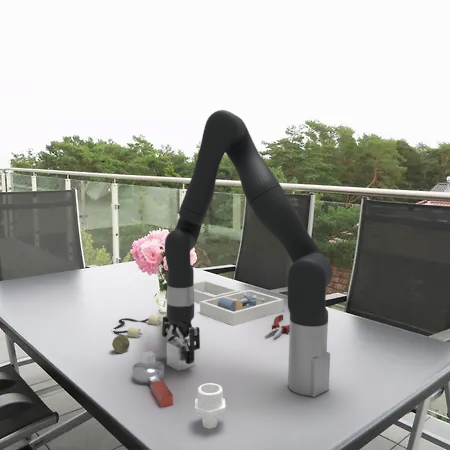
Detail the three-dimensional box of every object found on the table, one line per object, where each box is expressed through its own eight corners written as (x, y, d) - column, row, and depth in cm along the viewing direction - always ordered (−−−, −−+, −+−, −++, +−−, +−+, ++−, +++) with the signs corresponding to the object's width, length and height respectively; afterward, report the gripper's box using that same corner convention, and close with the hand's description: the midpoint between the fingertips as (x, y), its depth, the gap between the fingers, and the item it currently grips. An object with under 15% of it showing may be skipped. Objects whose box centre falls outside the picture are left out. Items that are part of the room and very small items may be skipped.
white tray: (283, 310, 175) (283, 299, 175) (233, 325, 158) (233, 313, 157) (249, 300, 189) (249, 289, 188) (199, 313, 171) (200, 301, 171)
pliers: (252, 337, 148) (252, 329, 147) (279, 320, 166) (279, 313, 165) (286, 345, 142) (286, 337, 141) (310, 326, 159) (311, 319, 159)
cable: (97, 334, 149) (97, 324, 149) (124, 319, 165) (124, 310, 164) (139, 340, 144) (139, 330, 144) (163, 324, 160) (163, 315, 159)
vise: (234, 321, 163) (234, 303, 162) (213, 315, 169) (213, 297, 169) (265, 310, 176) (265, 293, 175) (244, 305, 183) (245, 289, 182)
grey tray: (239, 301, 187) (240, 290, 187) (213, 308, 178) (213, 296, 177) (205, 290, 204) (205, 280, 203) (179, 295, 194) (179, 285, 194)
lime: (131, 349, 136) (130, 333, 135) (123, 355, 131) (123, 339, 131) (117, 347, 137) (117, 331, 137) (109, 354, 133) (109, 337, 132)
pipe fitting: (224, 415, 100) (224, 380, 99) (225, 434, 93) (225, 397, 92) (195, 415, 100) (195, 380, 99) (194, 434, 93) (194, 397, 92)
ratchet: (183, 402, 105) (183, 375, 105) (150, 409, 102) (149, 382, 101) (159, 369, 123) (158, 345, 122) (129, 374, 119) (129, 350, 119)
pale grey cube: (194, 365, 125) (194, 342, 125) (178, 371, 122) (178, 347, 121) (182, 359, 129) (182, 337, 129) (166, 364, 126) (166, 341, 125)
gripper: (154, 297, 126) (154, 353, 128) (185, 310, 116) (184, 370, 118) (176, 293, 131) (176, 347, 133) (207, 304, 121) (207, 362, 123)
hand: (180, 358), depth 126 cm, fingers open, 8 cm apart
